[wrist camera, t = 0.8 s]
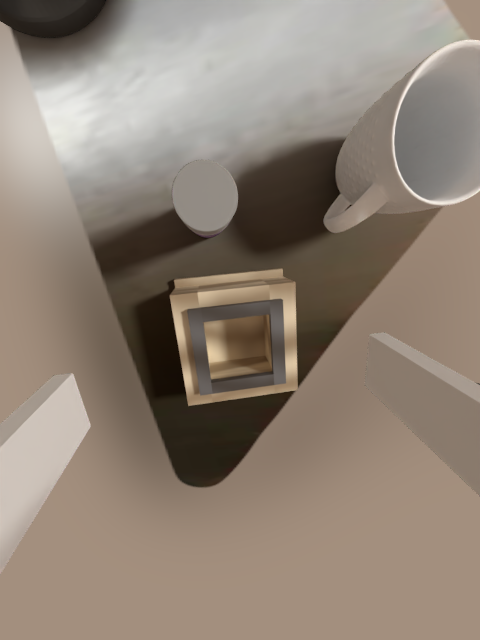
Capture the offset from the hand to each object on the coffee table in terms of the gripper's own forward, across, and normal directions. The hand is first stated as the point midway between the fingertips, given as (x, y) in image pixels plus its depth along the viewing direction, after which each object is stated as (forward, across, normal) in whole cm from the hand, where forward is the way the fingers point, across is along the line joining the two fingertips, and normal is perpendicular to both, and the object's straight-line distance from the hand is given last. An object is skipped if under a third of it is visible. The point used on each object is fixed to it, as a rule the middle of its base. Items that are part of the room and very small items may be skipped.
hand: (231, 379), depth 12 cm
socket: (+24, +2, -7) cm, 25 cm away
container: (+24, 0, +8) cm, 26 cm away
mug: (+24, +19, +11) cm, 33 cm away
